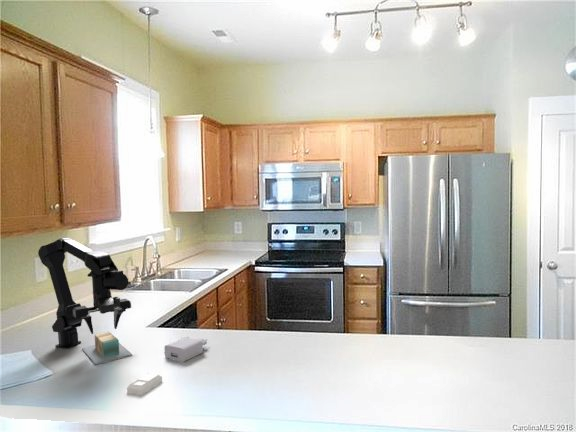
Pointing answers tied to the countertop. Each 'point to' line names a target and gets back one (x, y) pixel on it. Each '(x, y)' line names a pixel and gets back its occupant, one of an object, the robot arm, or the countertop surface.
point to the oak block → (106, 344)
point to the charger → (184, 349)
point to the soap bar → (144, 384)
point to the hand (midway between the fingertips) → (104, 331)
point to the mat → (99, 359)
